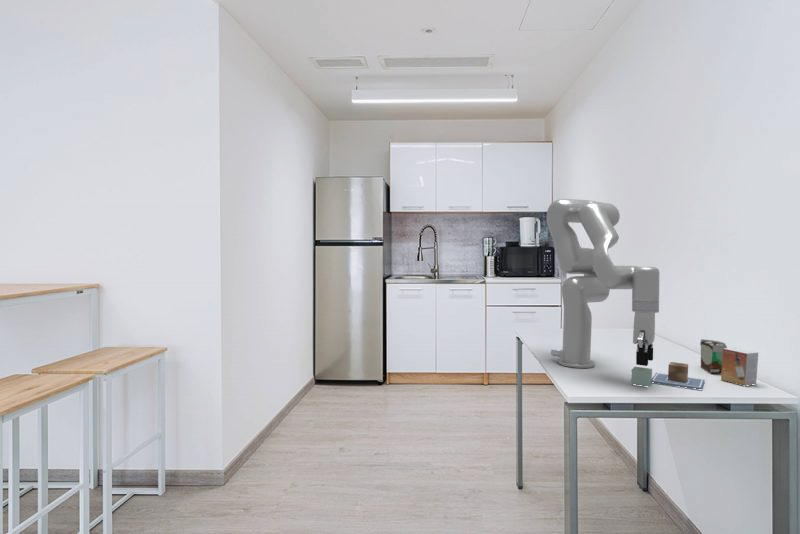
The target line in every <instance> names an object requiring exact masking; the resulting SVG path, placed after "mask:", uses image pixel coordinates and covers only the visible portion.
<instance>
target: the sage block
mask: <svg viewBox="0 0 800 534" xmlns="http://www.w3.org/2000/svg"><path fill="white" fill-rule="evenodd" d="M652 378H653V368H650V367H648V368H647V367H642V366H634V367H633V368H631V378H630V379H631V381H630V382H631V383H630V385H631V384H636V385H642V386H648V387H649V386H650V385H651V386H652V384H653V383H652ZM651 386H650V387H651ZM650 387H649V388H650Z"/></svg>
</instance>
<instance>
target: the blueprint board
mask: <svg viewBox="0 0 800 534" xmlns="http://www.w3.org/2000/svg"><path fill="white" fill-rule="evenodd" d="M704 381H706V380H705V379H703V378H702V379H701V378H696V377H689V376H688V380H687V382H686V383H682V382H675V381H668V373H660V372H655V373H654V375H653V376H652V382H654V383H660V384H666V385H665V386H667V385H673V386H672V387H674V386H680V387H687V388H696V389H702V390H703V388H702V387H704V385H705V382H704ZM654 383H653V384H654ZM660 384H659V385H660ZM703 384H704V385H703ZM680 387H679V388H680ZM687 388H686V389H687Z"/></svg>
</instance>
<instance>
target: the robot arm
mask: <svg viewBox="0 0 800 534" xmlns="http://www.w3.org/2000/svg"><path fill="white" fill-rule="evenodd" d="M620 216H621V215H620V211H619V209H618V208H617V206H615V205H614V204H612V203H609V202H607V203H606V202H602V201H596V200H587V199H575V198H561V199H560V198H559V199H556V200H554V201H553V202H551V203H550V205H549V206H548V208H547V211H546V224H547V228H548V231H549V233H550V236H551V238H552V241H553V244H554V249H555V252H556V254H555V255H556V256H557V261H558V265H559V268H560V270H561V271H562V272H563V273H565V274H568V275H575V276H571V277H568V278H566V279H565V280H564V281H563V282H562V285H561V295H562V302H563V325H562V327H563V329H562V330H563V331H562V349H560V350H556V349H551V351H550V355H551V356H552V357H558V359H557V363H558V364H559V366H564V367H566V368H567V367H568V368H573V369H574V368H575V369H576V368H577V369H589V368H594V367H595V366H596V365H595V364H596V363H595V361H593V360H591V348H592V341H591V340H592V320H593V319H592V317H593V316H592V312H591V309H590V306H589V305H588V303H600V302H604V301H606V300H607V299H608V298H609V295H610V290H632V292H631V293H632V294H631V295H632V296H631V297H632V298H631V312H633V313H634V320H633V330H632V331H633V333H632V344H633V345H636V352H635V353H636V354H635V359H636V360H635V364H636V365H637V366H643V367H647V366H648V365H649V361H650V362H651V361H653V360H654V347H653V346H654V344H653V343H654V342H655V337H656V336H655V335H656V313H660V270H659V268H658V267H656V266H637V265H636V266H635V265H615V264H614V262H613V261H612V259H611V257H610V254H609V251H608V250H609V249H611V248H612V247H613V246H614V245H616V244H617V243H618V241H619V239H620V237H619V236H620V235H619V234H618V232H617V230H616V228H615V227H614V226H616V225H618V223H619V221H620ZM570 223H573V224H575V223H578V224H581V225H582V227H583V228H584V230H585V232H586V235H587V237H588V239H589V240H590V242H591V245H592V246H593V248H589V247H581V244H580V243H579V238H578V235H577V233H576V232H575V230H574V229H573V227H571V225H570ZM578 275H579V276H578Z"/></svg>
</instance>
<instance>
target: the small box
mask: <svg viewBox="0 0 800 534" xmlns="http://www.w3.org/2000/svg"><path fill="white" fill-rule="evenodd" d="M758 363H759V352H758V351H752V350H747V349H741V348H737V347H727V348H724V349H723V358H722V372H721V376H720V380H721V381H723V380H724V381H723V382H727V381H728V382H727V383H731V382H732V383H731V384H734V383H737V384H741V385H752V384H756V385H757V377H758ZM737 384H736V385H737Z"/></svg>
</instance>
